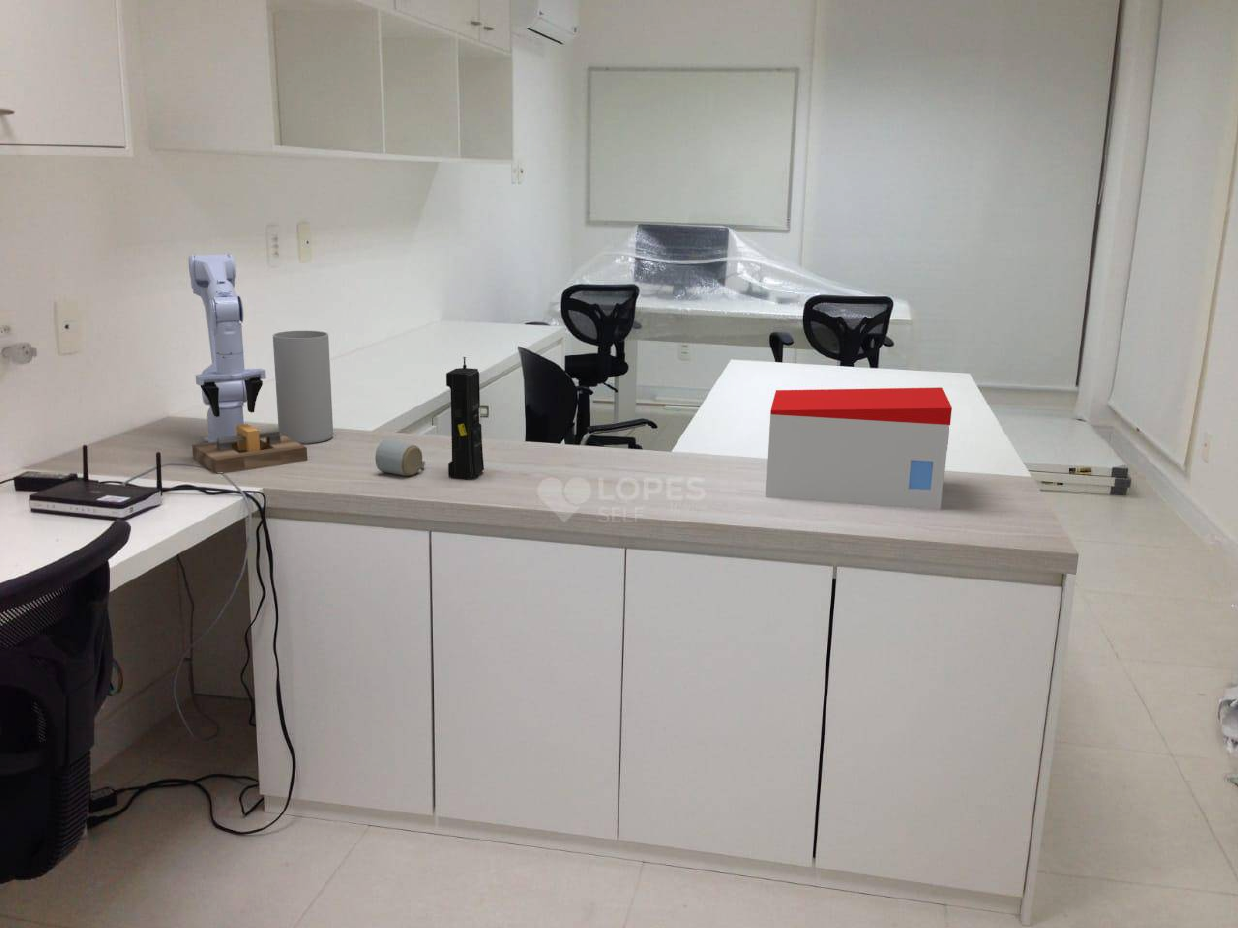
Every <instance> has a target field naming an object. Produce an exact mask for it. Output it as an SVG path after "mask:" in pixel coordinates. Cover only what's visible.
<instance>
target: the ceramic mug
mask: <svg viewBox="0 0 1238 928" xmlns="http://www.w3.org/2000/svg"><path fill="white" fill-rule="evenodd" d="M375 451H376V452H375V459H374V460H375V464H376V467H377V469H378V470H379V471H380V472H383V473H387V474H392V475H393V474H394V475H398V476H399V475H400V476H404V477H405V476H406V477H411V476H414V475H415V474H416V473H417V472H419V470H420V469H424V467H425V466H426V465H425V464H426V461H423V454H422V450H421V449H420V447H419V446H417V445H416V444H413V443H412V442H411V443H410V442H406V441H403V440H399V439H396V438H391V437H387V438H384V439H383V440H382V441H380V443H379V444H378V446H377V448H376V450H375Z"/></svg>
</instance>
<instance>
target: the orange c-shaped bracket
mask: <svg viewBox="0 0 1238 928" xmlns="http://www.w3.org/2000/svg"><path fill="white" fill-rule="evenodd" d="M236 433H237V436H238V435H243V436H244V437H246V440H241V441H237V446H238V450H246V449H247V452H252V451H259V450H260V440H259V433H260V430H259V429H257V428H255V427H253V426H252V425H249V424H248V423H244V424H243V425H236Z"/></svg>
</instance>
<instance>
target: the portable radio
mask: <svg viewBox="0 0 1238 928" xmlns="http://www.w3.org/2000/svg"><path fill="white" fill-rule="evenodd" d="M462 357H463V365H462V367H461V368H455V369H452V370H451V371H449V372H446V374H445V386H446V387H449V389H450V423H451V424H450V427H451V430H450V431H451V461H450V462H448V464H447V471H448V472H447V473H448V475H447V476H448V478H450V479H451V478H452V479H459V480H460V479H461V480H469V481H470V480H474V479H475V478H476V477H478V476H479V475H480V474H481V473H482V472H483V471H484V470H485V466H484V465H485V464H484V454H483V452H484V451H483V436H482V433H483V432H482V424H481V423H480V407H481V406H480V405H481V403H480V402H481V401H480V398H481V397H480V396H481V395H480V372H479V369H478V368H468V367H467V363H466V358H467V357H466V356H462Z"/></svg>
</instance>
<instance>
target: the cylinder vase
mask: <svg viewBox="0 0 1238 928" xmlns="http://www.w3.org/2000/svg"><path fill="white" fill-rule="evenodd" d="M329 345H330V343H329V333H328V332H325V331H319V330H289V331H287V330H286V331H281V332H275V333H273V334H272V346H273V360H274V361H273V363H274V364H273V365H274V376H275V377H274V378H275V395H276V408H277V424H278V426H277V427H278V431H279V432H280V433H281V434H283V435H285V436H286V437H288V438H290V439H292V440H294V441H296V442H298V443H300V444H301V445H307V444H317V443H322V442H326V441H328V440H330V439H332V438H333V436H334V425H333V424H334V423H333V405H332V404H333V403H332V385H331V380H332V379H331V368H330V367H331V365H330V364H331V363H330V346H329Z"/></svg>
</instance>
